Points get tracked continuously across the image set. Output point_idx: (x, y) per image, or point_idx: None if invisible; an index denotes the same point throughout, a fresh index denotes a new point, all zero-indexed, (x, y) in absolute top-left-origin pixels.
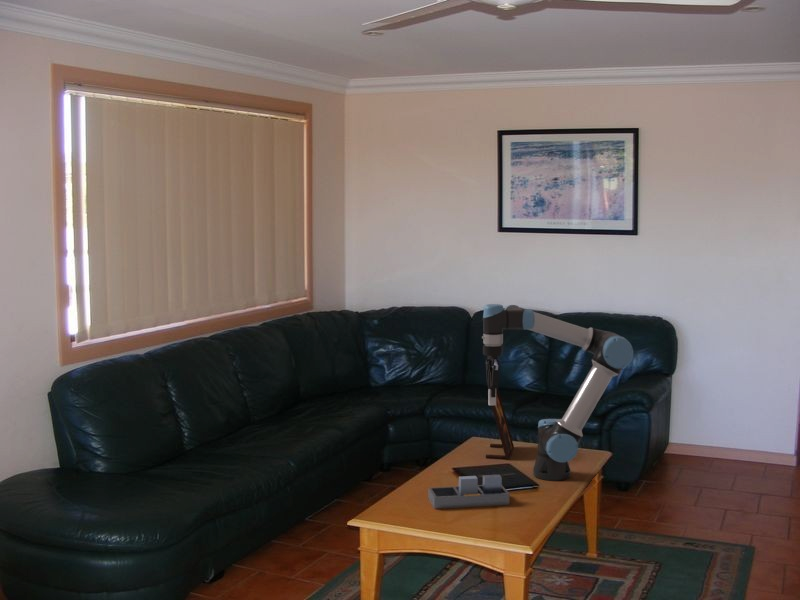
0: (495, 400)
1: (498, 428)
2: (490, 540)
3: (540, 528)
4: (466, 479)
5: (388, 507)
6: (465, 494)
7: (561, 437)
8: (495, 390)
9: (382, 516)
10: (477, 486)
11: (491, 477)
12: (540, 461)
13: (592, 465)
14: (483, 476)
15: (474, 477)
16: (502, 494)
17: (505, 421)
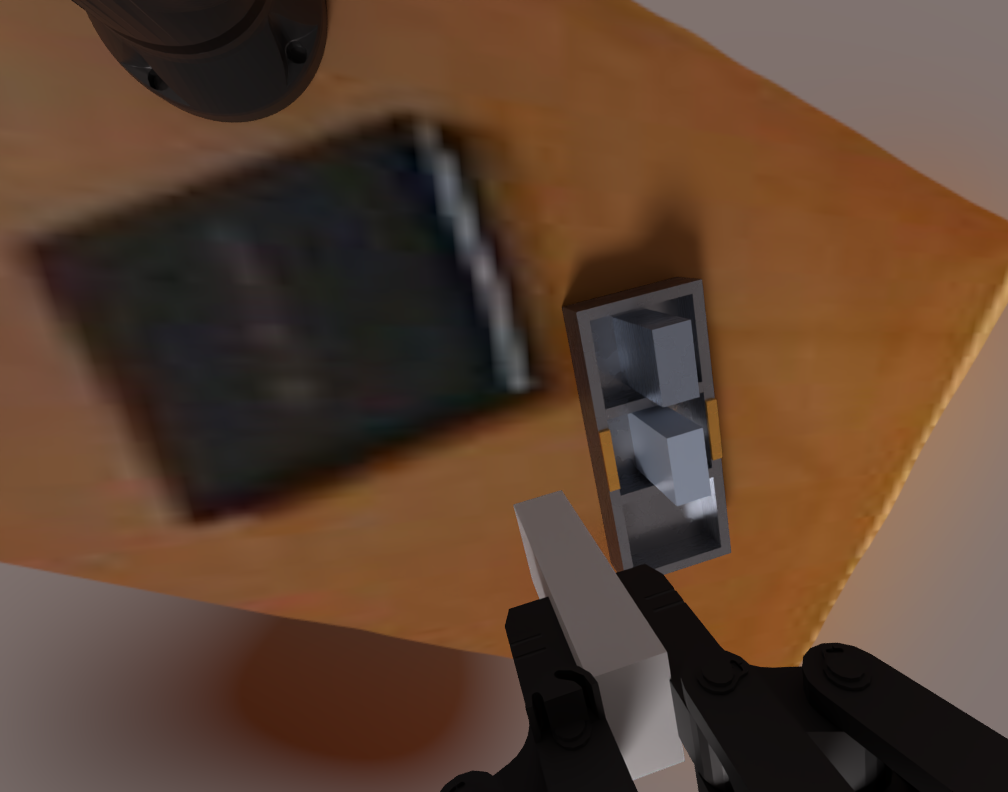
0: (583, 530)
1: None
2: (971, 349)
3: (911, 175)
4: (707, 472)
5: None
6: (715, 453)
7: None
8: (649, 637)
9: (760, 656)
10: (684, 417)
11: (692, 367)
12: (252, 54)
13: None
14: (674, 403)
15: (690, 441)
16: (704, 309)
17: None
